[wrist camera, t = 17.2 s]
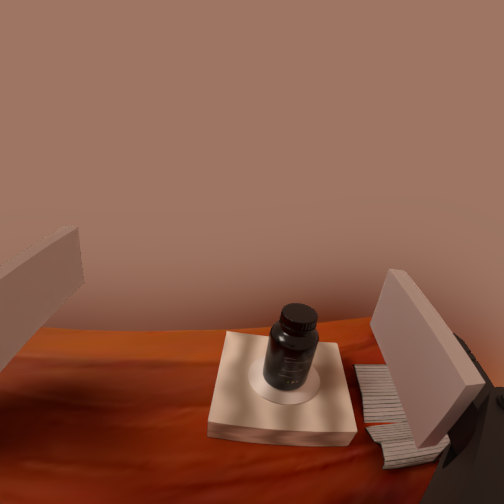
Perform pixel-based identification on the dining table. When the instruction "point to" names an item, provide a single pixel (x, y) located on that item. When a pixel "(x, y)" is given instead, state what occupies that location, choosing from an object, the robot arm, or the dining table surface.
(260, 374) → the stand
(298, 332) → the supplement bottle
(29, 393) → the dining table surface
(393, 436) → the mat
